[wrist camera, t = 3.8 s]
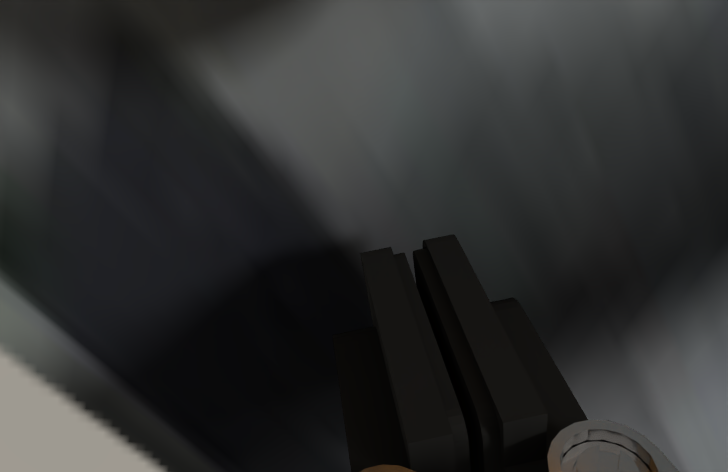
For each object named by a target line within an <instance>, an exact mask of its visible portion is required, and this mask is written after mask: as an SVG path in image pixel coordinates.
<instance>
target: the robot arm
mask: <svg viewBox="0 0 728 472" xmlns="http://www.w3.org/2000/svg"><path fill="white" fill-rule="evenodd" d="M361 260H362V266H363V271H364V277H365V282H366V288H367V293H368V299H369V304H370V310H371V316H372V321H373V327H369V328H365V329H360V330H355V331H350V332H345V333H340V334H336V335H333V344H334V351H335V358H336V365H337V373H338V380H339V387H340V394H341V401H342V408H343V415H344V422H345V429H346V437H347V444H348V451H349V458H350V465H351V472H680V471H679V470H678V469H677V468H676V467H675V466H674V465H673V464H672V462H671V461H670V460H669V459H668V458H667V457H666V456H665V455H664V453H663V452H662V451H661V450H660V449H659V448H658V447H657V446H656V445H655V444H654V443H653V442H651V441H650V440H649V439H648V438H647V437H646V436H645V435H643V434H641V433H639V432H638V431H636V430H634V429H632V428H630V427H628V426H626V425H623V424H619V423H616V422H612V421H609V420H591V419H590V420H588V419H587V417H586V416H585V414H584V412H583V411H582V409H581V407H580V405H579V404H578V402H577V400H576V399H575V397H574V395H573V394H572V392H571V390H570V388H569V387H568V385H567V383H566V382H565V380H564V378H563V376H562V375H561V373H560V371H559V370H558V368H557V366H556V365H555V363H554V361H553V359H552V358H551V356H550V354H549V353H548V351H547V349H546V348H545V346H544V344H543V342H542V341H541V339H540V337H539V336H538V334H537V332H536V330H535V329H534V327H533V325H532V324H531V322H530V320H529V319H528V317H527V315H526V313H525V312H524V310H523V308H522V307H521V305H520V304H519V302H518V301H517V300H516V299H514V298H509V299H505V300H500V301H495V302H490V301H489V299H488V298H487V296H486V294H485V292H484V290H483V288H482V286H481V284H480V282H479V280H478V278H477V276H476V274H475V273H474V271H473V269H472V267H471V265H470V263H469V261H468V259H467V257H466V255H465V253H464V251H463V249H462V247H461V246H460V244H459V242H458V240H457V238H456V236H455V235H448V236H443V237H438V238H433V239H428V240H424V241H423V249H420V250H415V251H413V260H414V268H415V277H416V283H415V281H414V278H413V275H412V272H411V269H410V267H409V264H408V261H407V258H406V256H405V253H400V254H395V255H393V252H392V249H391V247H389V248H384V249H379V250H374V251H369V252H364V253H361ZM416 285H417V286H416Z"/></svg>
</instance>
